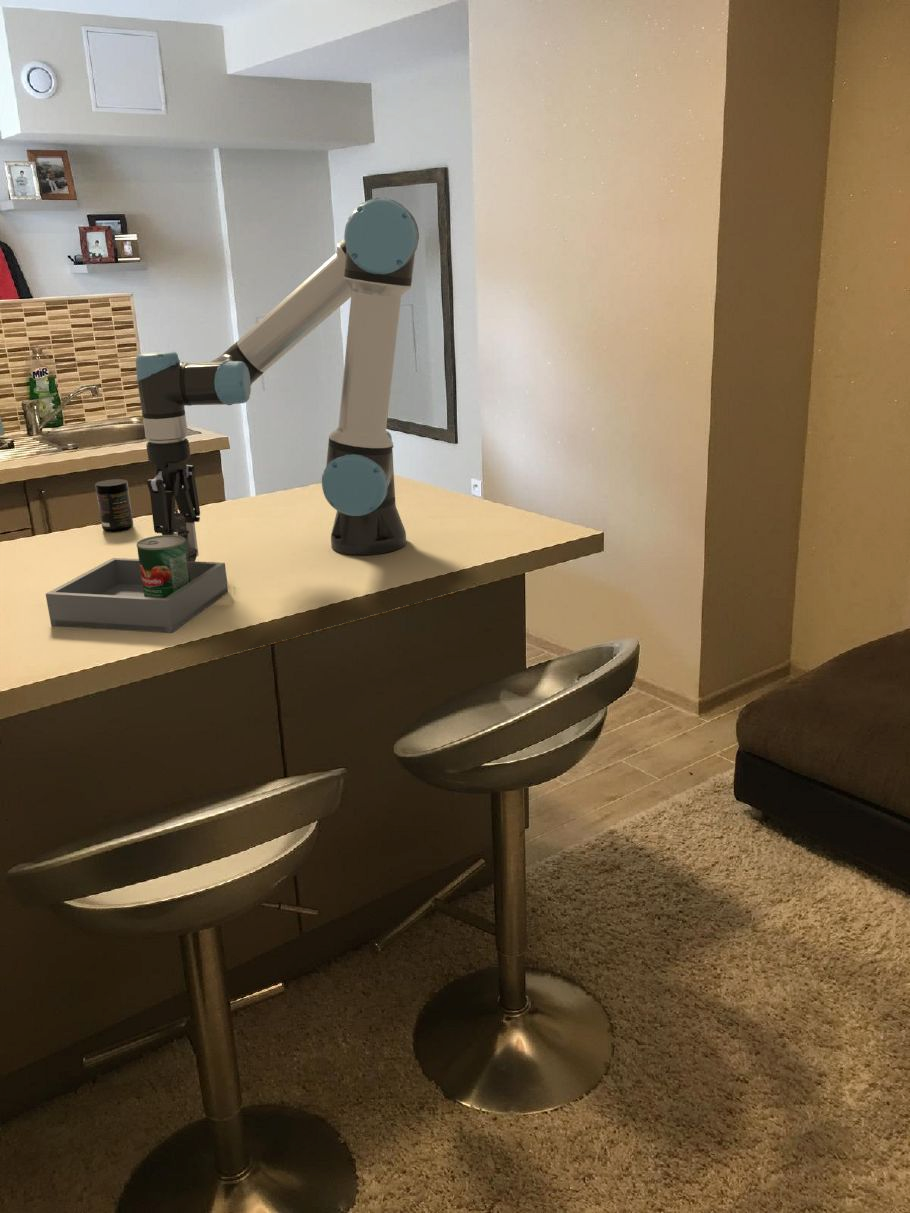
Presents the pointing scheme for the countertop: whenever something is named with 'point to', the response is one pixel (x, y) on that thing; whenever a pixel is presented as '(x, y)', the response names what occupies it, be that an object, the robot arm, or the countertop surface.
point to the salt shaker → (184, 535)
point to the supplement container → (114, 505)
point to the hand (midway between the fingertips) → (183, 560)
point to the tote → (133, 598)
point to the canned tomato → (163, 565)
